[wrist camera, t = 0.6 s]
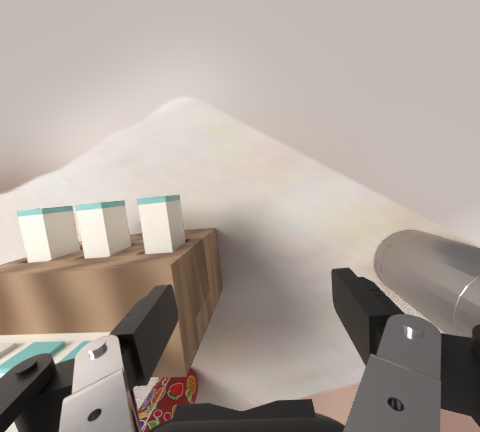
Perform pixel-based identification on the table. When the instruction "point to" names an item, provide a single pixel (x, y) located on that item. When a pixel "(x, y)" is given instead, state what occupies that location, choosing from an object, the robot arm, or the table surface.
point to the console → (115, 293)
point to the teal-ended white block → (161, 224)
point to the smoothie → (167, 399)
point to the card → (42, 347)
